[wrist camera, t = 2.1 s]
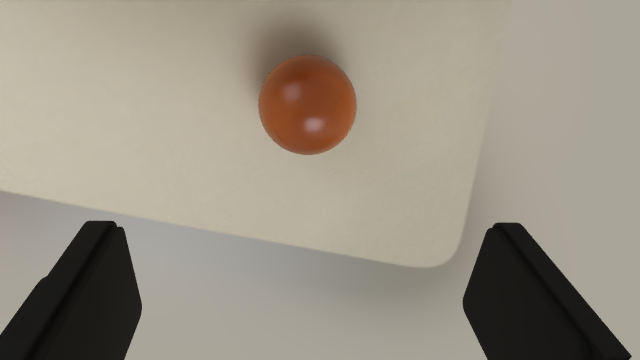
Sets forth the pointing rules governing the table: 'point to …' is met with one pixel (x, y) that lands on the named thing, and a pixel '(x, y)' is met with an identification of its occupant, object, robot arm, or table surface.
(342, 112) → the ball
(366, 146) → the table surface
